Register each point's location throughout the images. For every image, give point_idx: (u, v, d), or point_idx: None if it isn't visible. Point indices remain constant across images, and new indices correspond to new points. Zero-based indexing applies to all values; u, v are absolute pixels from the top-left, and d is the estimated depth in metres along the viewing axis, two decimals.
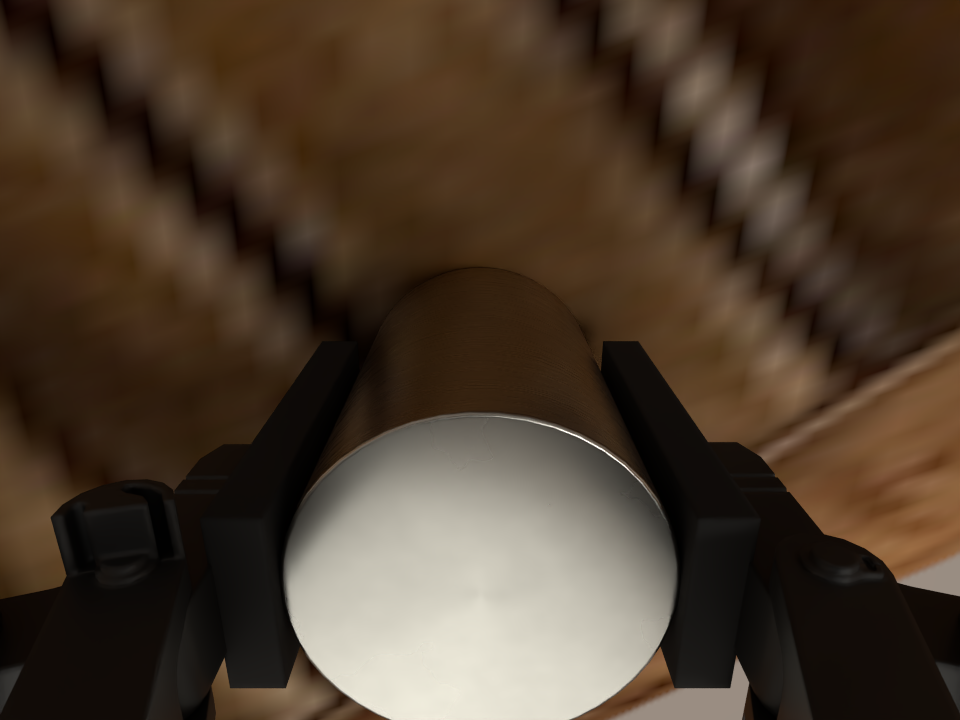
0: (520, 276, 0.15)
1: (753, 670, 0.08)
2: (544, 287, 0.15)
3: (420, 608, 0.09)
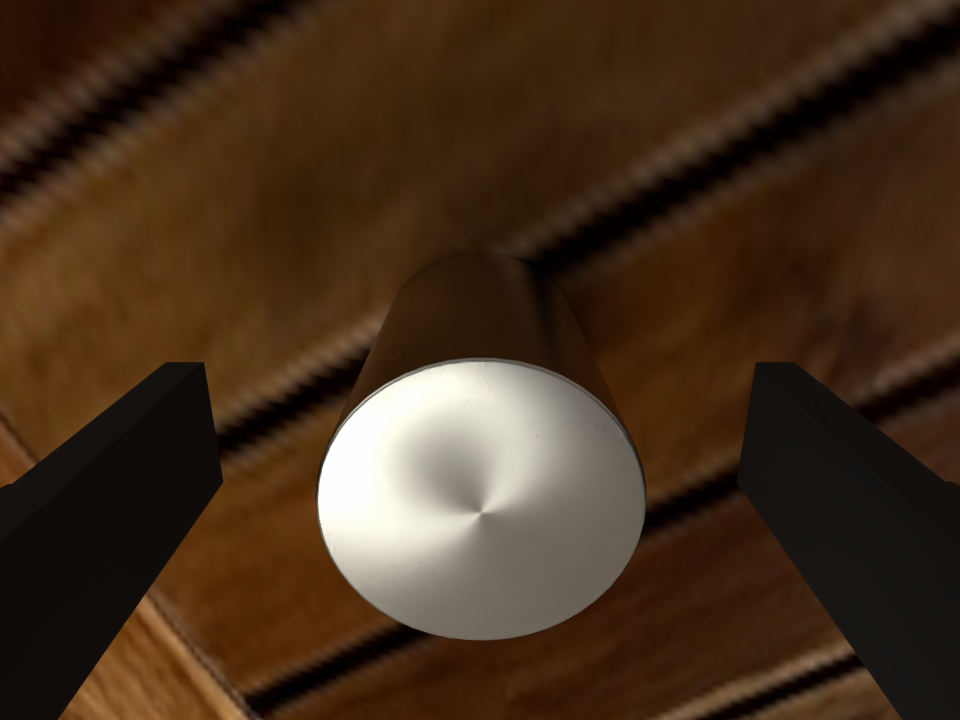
0: (516, 259, 0.16)
1: None
2: (537, 269, 0.17)
3: (431, 525, 0.10)
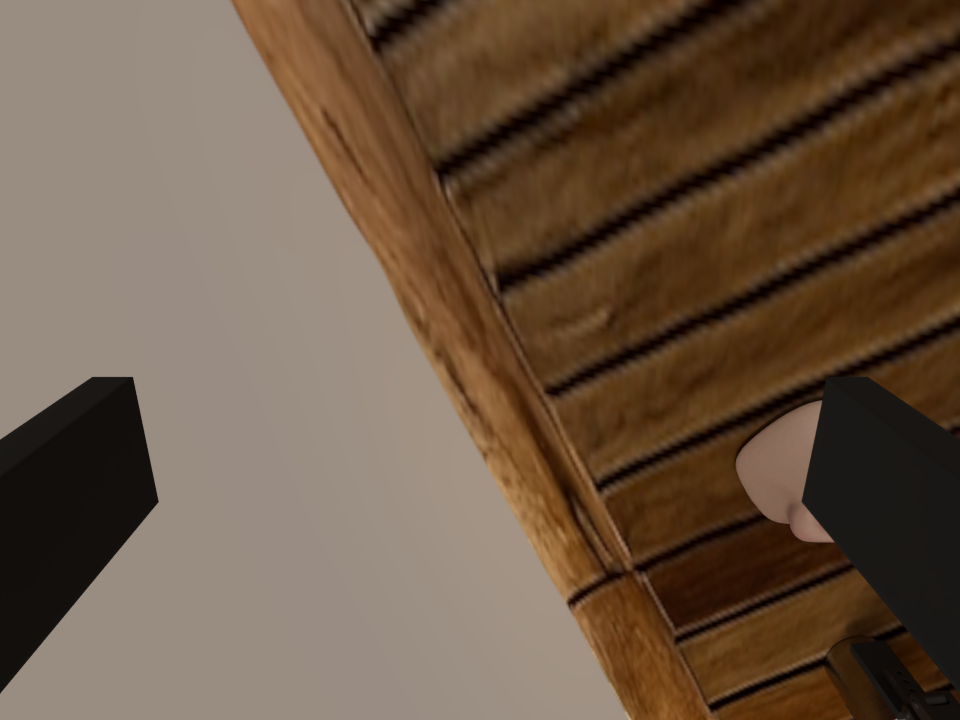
0: (873, 639, 0.55)
1: None
2: (878, 640, 0.55)
3: None
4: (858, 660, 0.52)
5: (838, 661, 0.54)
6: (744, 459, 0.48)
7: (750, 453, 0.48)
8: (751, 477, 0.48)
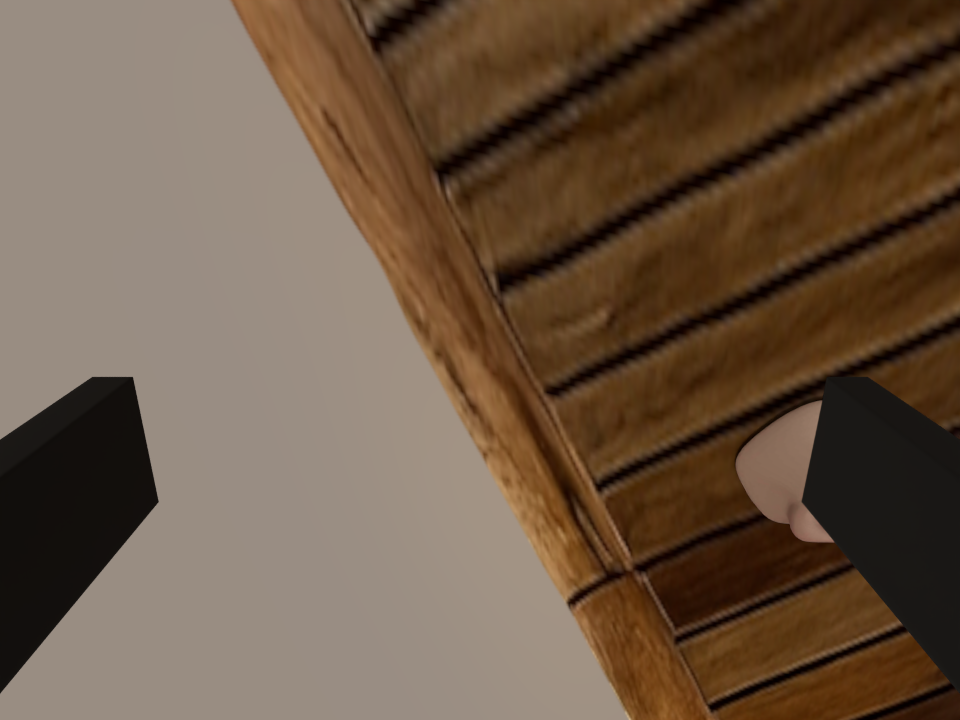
0: None
1: None
2: None
3: None
4: None
5: None
6: (744, 459, 0.48)
7: (750, 453, 0.48)
8: (751, 477, 0.48)
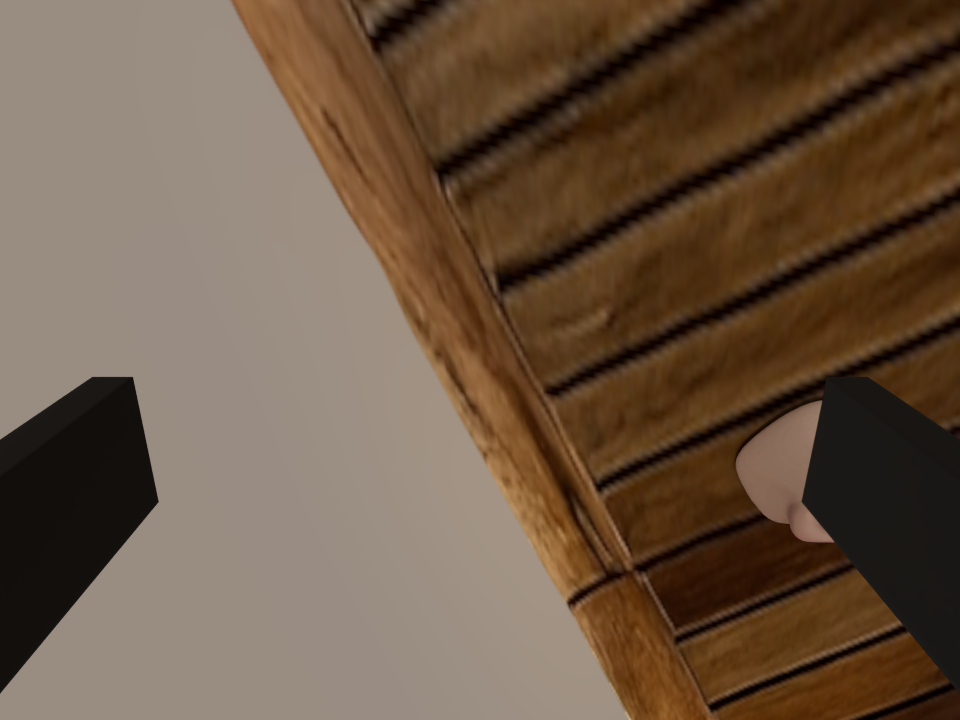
0: None
1: None
2: None
3: None
4: None
5: None
6: (744, 459, 0.48)
7: (750, 453, 0.48)
8: (751, 477, 0.48)
